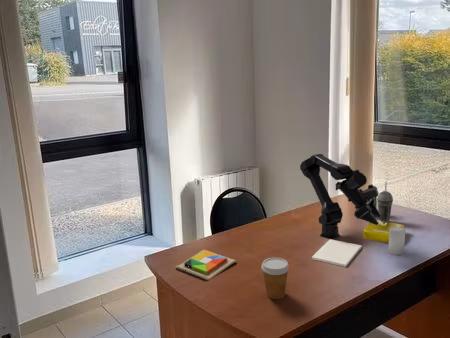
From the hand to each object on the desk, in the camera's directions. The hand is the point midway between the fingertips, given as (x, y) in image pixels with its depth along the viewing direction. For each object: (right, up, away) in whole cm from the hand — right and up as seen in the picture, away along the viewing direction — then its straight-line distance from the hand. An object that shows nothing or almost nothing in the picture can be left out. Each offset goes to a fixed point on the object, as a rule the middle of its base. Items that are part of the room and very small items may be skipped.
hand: (378, 220), depth 183 cm
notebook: (-17, -14, +2) cm, 22 cm away
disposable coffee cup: (-46, -23, -28) cm, 58 cm away
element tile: (+8, -9, +17) cm, 21 cm away
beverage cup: (+14, -5, +32) cm, 35 cm away
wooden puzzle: (-71, -18, -4) cm, 73 cm away
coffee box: (+9, -3, +42) cm, 43 cm away
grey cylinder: (+7, -13, 0) cm, 15 cm away
